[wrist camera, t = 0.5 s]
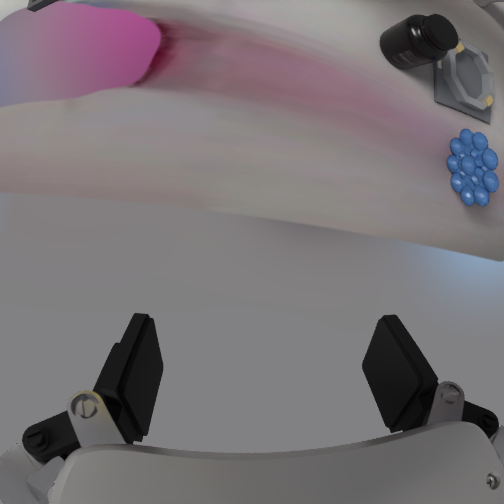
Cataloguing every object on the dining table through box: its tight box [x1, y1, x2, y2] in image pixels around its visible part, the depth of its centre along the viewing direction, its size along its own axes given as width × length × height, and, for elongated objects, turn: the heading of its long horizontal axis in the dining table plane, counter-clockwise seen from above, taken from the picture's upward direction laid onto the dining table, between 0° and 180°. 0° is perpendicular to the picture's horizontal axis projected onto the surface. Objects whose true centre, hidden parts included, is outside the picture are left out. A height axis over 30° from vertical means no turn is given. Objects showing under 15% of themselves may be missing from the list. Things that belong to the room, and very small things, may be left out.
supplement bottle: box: [380, 14, 459, 69], centre depth 23 cm, size 7×7×12 cm
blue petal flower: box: [447, 129, 499, 207], centre depth 30 cm, size 12×7×12 cm, turn 176°
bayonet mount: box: [434, 38, 494, 123], centre depth 28 cm, size 14×14×4 cm
